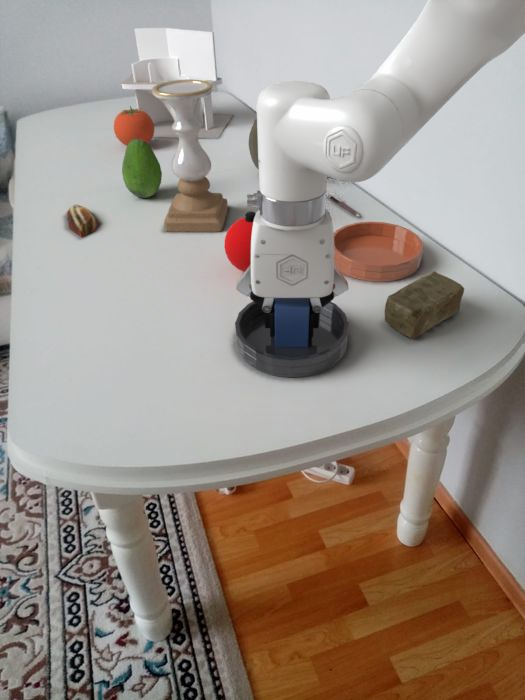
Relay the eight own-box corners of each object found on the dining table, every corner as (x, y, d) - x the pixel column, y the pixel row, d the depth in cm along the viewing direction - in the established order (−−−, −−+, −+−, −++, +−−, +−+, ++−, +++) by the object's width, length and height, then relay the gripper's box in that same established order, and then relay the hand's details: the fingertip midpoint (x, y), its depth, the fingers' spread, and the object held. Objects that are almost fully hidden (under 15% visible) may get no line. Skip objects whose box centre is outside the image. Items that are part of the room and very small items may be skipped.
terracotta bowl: (438, 257, 88) (441, 241, 86) (382, 292, 80) (385, 276, 78) (367, 228, 97) (368, 213, 95) (311, 258, 89) (311, 242, 87)
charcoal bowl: (369, 340, 71) (372, 323, 69) (291, 395, 64) (291, 377, 62) (291, 296, 80) (291, 280, 78) (214, 340, 72) (212, 323, 70)
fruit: (156, 204, 108) (146, 146, 100) (121, 202, 109) (108, 144, 102) (170, 189, 114) (161, 133, 106) (136, 187, 115) (125, 131, 107)
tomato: (111, 146, 137) (102, 105, 131) (146, 137, 142) (139, 98, 135) (128, 156, 131) (119, 114, 124) (164, 147, 135) (158, 106, 129)
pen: (327, 197, 108) (327, 193, 108) (330, 197, 109) (330, 192, 108) (358, 218, 100) (358, 213, 100) (361, 217, 101) (361, 213, 100)
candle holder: (228, 207, 106) (218, 77, 91) (221, 231, 97) (209, 94, 82) (175, 207, 107) (157, 79, 91) (164, 231, 98) (142, 95, 83)
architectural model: (118, 136, 143) (99, 39, 128) (142, 114, 159) (127, 25, 144) (218, 138, 140) (209, 38, 125) (232, 115, 156) (226, 24, 141)
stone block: (379, 324, 74) (383, 295, 71) (429, 295, 79) (435, 266, 76) (412, 344, 70) (418, 314, 67) (462, 311, 76) (469, 282, 73)
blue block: (307, 327, 73) (308, 288, 69) (308, 347, 70) (309, 307, 66) (275, 327, 73) (275, 288, 69) (275, 347, 70) (274, 307, 66)
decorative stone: (56, 212, 107) (54, 203, 105) (83, 205, 109) (80, 197, 108) (76, 239, 97) (74, 230, 96) (105, 231, 99) (103, 222, 98)
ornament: (290, 265, 87) (291, 209, 81) (257, 289, 82) (255, 231, 76) (249, 250, 92) (246, 196, 85) (215, 272, 86) (209, 216, 80)
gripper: (215, 219, 57) (227, 348, 68) (371, 218, 56) (356, 348, 67) (222, 191, 62) (232, 314, 74) (363, 190, 62) (351, 314, 73)
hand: (291, 329), depth 71 cm, fingers closed on blue block, 4 cm apart
